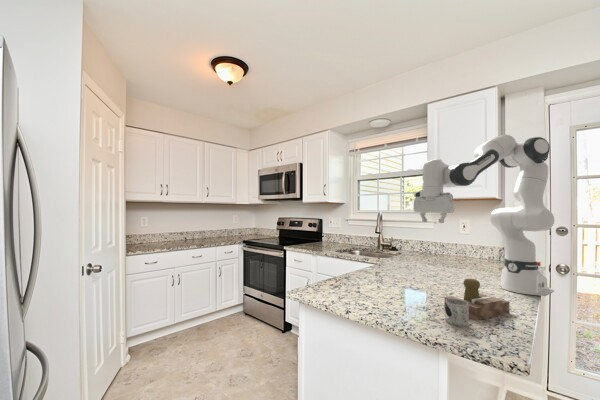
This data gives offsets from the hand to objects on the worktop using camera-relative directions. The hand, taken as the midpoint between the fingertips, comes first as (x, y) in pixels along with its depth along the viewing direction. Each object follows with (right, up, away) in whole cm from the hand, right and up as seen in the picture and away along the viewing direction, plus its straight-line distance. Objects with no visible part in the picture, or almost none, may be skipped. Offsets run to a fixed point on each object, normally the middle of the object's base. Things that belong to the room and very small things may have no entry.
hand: (432, 222), depth 127 cm
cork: (+2, -30, -27) cm, 40 cm away
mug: (-12, -30, -41) cm, 52 cm away
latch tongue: (+3, -30, -30) cm, 42 cm away
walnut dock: (+2, -30, -28) cm, 41 cm away
